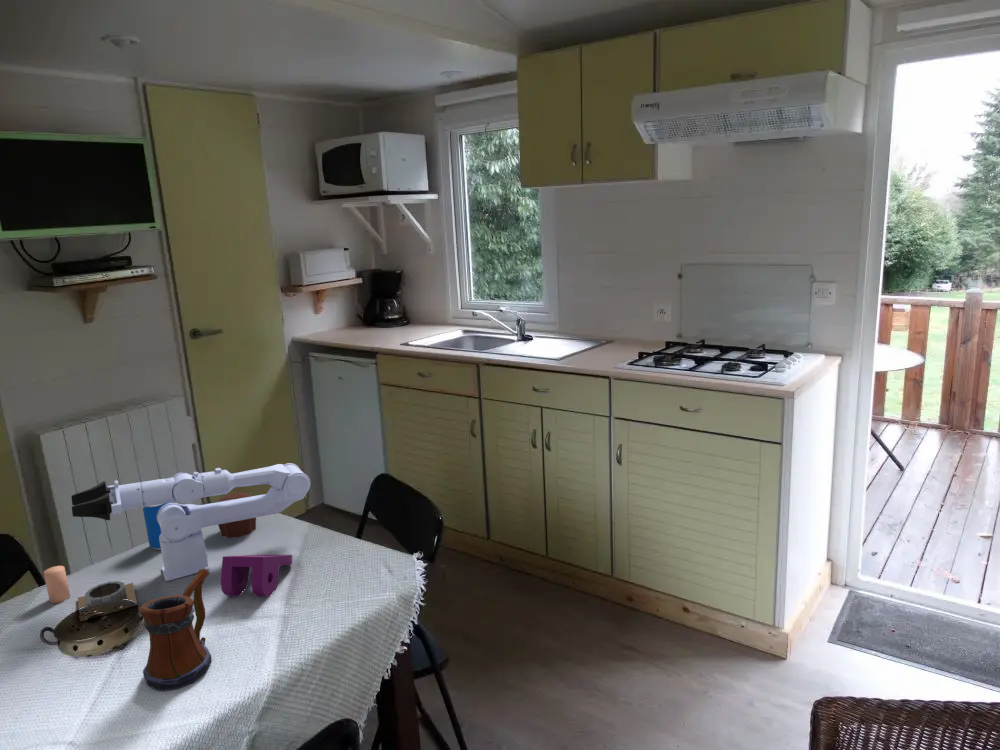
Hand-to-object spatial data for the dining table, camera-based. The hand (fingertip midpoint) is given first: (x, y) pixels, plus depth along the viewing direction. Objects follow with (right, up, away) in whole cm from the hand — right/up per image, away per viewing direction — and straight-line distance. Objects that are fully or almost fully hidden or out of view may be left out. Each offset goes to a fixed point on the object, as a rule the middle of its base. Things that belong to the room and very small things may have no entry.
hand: (71, 505), depth 156 cm
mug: (+35, -25, -21) cm, 48 cm away
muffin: (+24, -13, +35) cm, 44 cm away
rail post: (-5, -22, +5) cm, 23 cm away
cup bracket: (+7, -22, +1) cm, 23 cm away
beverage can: (+7, -16, +29) cm, 33 cm away
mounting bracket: (+39, -19, +7) cm, 44 cm away
